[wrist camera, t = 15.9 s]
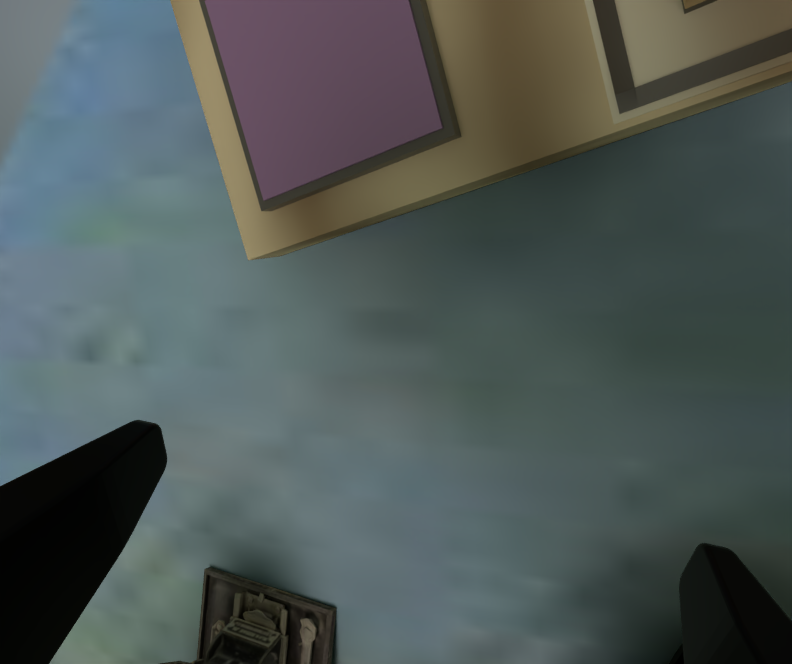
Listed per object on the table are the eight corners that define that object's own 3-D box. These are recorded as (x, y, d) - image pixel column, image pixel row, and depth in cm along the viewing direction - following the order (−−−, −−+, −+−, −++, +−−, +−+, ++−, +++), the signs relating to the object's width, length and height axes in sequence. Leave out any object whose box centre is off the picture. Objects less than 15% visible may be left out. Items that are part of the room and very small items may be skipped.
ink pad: (394, -119, 17) (384, -132, 16) (461, 136, 17) (453, 134, 17) (210, 2, 20) (195, -4, 19) (271, 211, 21) (259, 211, 20)
